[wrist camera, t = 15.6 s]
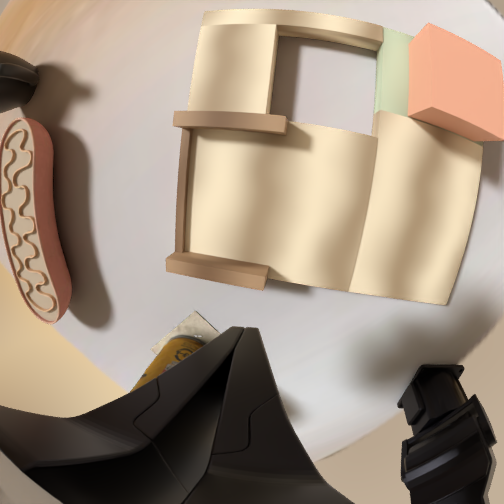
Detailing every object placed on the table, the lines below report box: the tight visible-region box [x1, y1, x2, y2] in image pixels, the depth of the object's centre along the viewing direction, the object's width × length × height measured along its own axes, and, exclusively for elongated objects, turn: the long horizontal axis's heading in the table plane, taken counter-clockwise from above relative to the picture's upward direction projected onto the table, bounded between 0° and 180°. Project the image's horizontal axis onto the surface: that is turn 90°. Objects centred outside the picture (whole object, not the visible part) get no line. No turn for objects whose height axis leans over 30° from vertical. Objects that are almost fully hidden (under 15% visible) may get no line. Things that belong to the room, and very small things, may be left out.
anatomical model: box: [0, 118, 72, 324], centre depth 23 cm, size 23×10×5 cm, turn 1°
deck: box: [185, 9, 483, 305], centre depth 17 cm, size 22×20×2 cm
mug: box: [0, 51, 39, 113], centre depth 15 cm, size 8×12×10 cm
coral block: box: [408, 23, 504, 142], centre depth 11 cm, size 6×6×4 cm
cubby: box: [166, 111, 288, 291], centre depth 17 cm, size 7×11×2 cm, turn 174°
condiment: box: [130, 311, 220, 392], centre depth 21 cm, size 7×8×12 cm
